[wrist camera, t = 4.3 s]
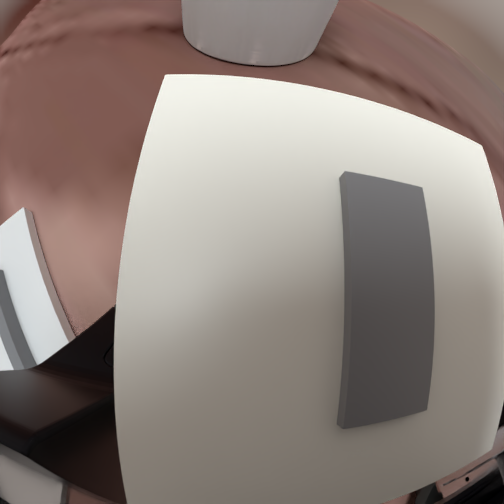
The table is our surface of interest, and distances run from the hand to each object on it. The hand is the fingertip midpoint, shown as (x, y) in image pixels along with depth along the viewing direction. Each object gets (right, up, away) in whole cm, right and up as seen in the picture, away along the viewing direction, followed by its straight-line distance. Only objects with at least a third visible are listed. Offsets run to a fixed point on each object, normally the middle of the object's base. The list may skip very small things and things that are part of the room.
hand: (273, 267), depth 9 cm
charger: (-1, -3, +6) cm, 7 cm away
